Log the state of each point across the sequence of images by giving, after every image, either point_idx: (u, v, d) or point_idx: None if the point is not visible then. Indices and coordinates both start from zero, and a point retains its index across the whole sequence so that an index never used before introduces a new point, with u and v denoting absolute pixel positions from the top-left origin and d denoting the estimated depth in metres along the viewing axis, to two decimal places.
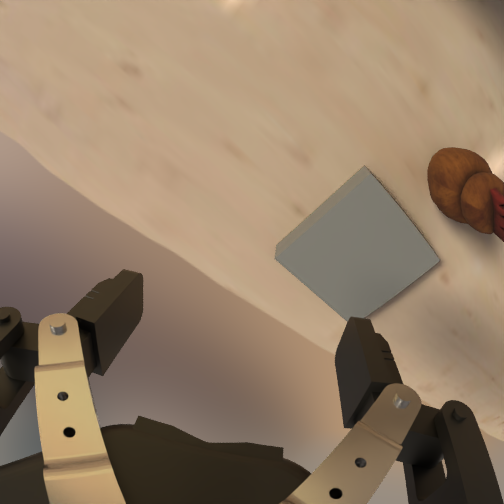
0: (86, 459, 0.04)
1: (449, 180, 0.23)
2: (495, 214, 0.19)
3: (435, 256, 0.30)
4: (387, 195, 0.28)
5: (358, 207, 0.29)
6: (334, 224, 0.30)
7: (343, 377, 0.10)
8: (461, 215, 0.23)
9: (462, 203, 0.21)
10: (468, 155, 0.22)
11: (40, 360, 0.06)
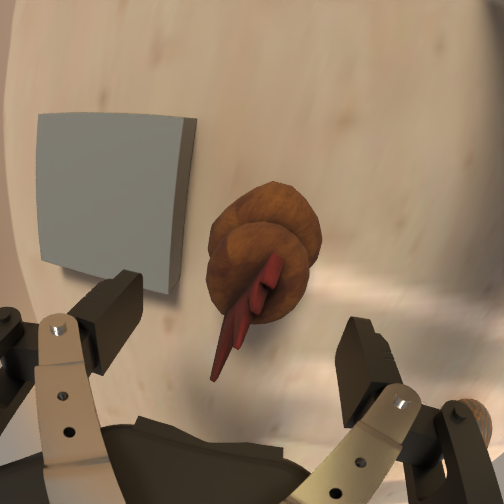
0: (86, 459, 0.04)
1: (247, 205, 0.17)
2: (246, 292, 0.13)
3: (166, 284, 0.23)
4: (175, 159, 0.20)
5: (138, 139, 0.19)
6: (103, 132, 0.19)
7: (343, 377, 0.10)
8: None
9: (224, 237, 0.15)
10: (304, 208, 0.17)
11: (40, 359, 0.06)
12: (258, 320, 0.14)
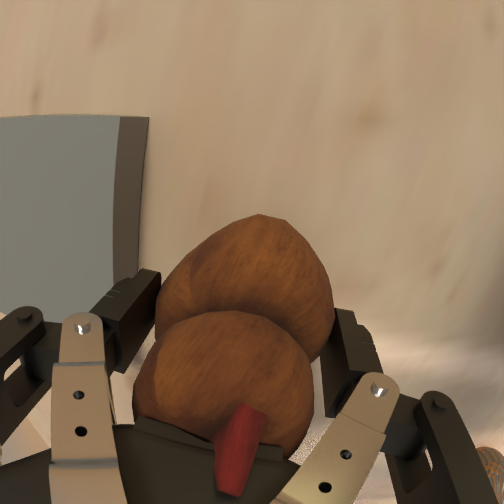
0: (86, 459, 0.04)
1: (209, 268, 0.10)
2: None
3: None
4: (110, 180, 0.13)
5: (62, 151, 0.12)
6: (23, 143, 0.12)
7: (326, 367, 0.11)
8: None
9: (161, 338, 0.08)
10: (308, 271, 0.10)
11: (60, 357, 0.06)
12: None
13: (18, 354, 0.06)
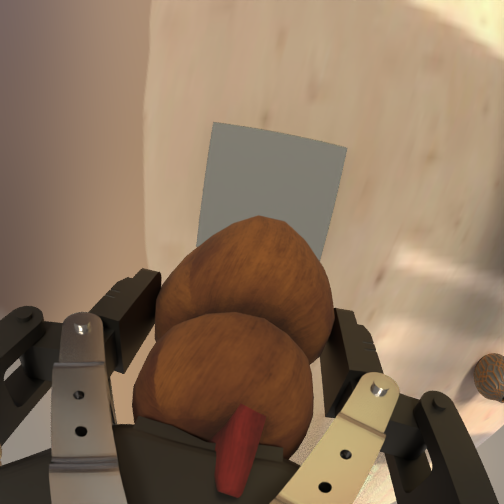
0: (86, 459, 0.04)
1: (209, 269, 0.10)
2: None
3: None
4: (339, 175, 0.29)
5: (312, 157, 0.29)
6: (282, 148, 0.29)
7: (326, 367, 0.11)
8: None
9: (161, 339, 0.08)
10: (308, 273, 0.10)
11: (60, 357, 0.06)
12: None
13: (18, 354, 0.06)
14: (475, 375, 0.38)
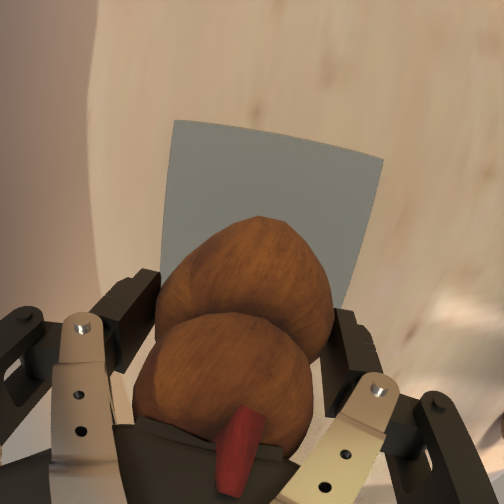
0: (86, 459, 0.04)
1: (209, 269, 0.10)
2: None
3: None
4: (370, 201, 0.19)
5: (330, 174, 0.18)
6: (283, 159, 0.18)
7: (326, 367, 0.11)
8: None
9: (161, 339, 0.08)
10: (307, 273, 0.10)
11: (60, 357, 0.06)
12: None
13: (18, 354, 0.06)
14: (503, 425, 0.28)
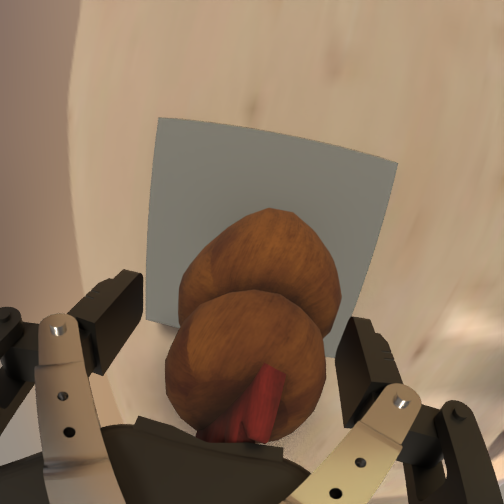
0: (86, 459, 0.04)
1: (228, 255, 0.11)
2: (224, 416, 0.08)
3: (336, 347, 0.20)
4: (382, 211, 0.16)
5: (336, 179, 0.16)
6: (282, 162, 0.16)
7: (343, 377, 0.10)
8: None
9: (189, 316, 0.09)
10: (315, 256, 0.11)
11: (40, 360, 0.06)
12: None
13: (0, 354, 0.06)
14: None
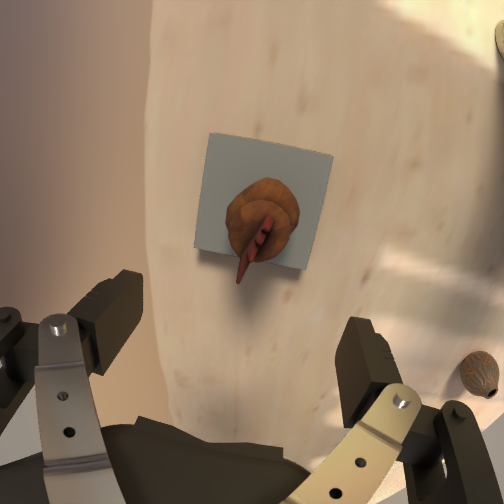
0: (86, 459, 0.04)
1: (251, 192, 0.27)
2: (253, 239, 0.23)
3: (306, 263, 0.36)
4: (326, 182, 0.32)
5: (301, 166, 0.32)
6: (273, 157, 0.32)
7: (343, 377, 0.10)
8: None
9: (238, 210, 0.25)
10: (286, 192, 0.27)
11: (40, 360, 0.06)
12: (261, 257, 0.24)
13: (0, 355, 0.06)
14: (461, 371, 0.41)
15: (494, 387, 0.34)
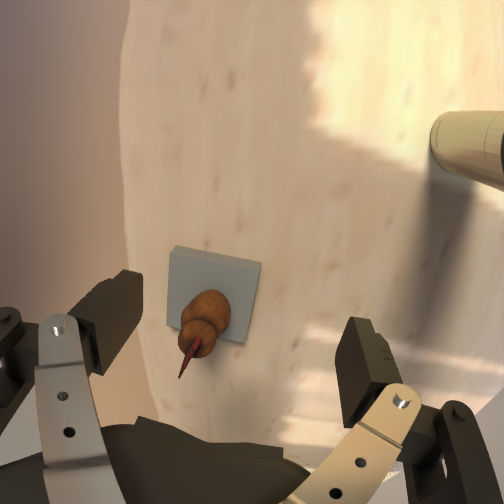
0: (86, 459, 0.04)
1: (193, 309, 0.40)
2: (190, 348, 0.37)
3: (244, 339, 0.49)
4: (254, 288, 0.45)
5: (235, 277, 0.45)
6: (215, 271, 0.45)
7: (343, 377, 0.10)
8: None
9: (183, 326, 0.38)
10: (217, 310, 0.40)
11: (40, 359, 0.06)
12: (197, 357, 0.37)
13: (0, 354, 0.06)
14: None
15: None
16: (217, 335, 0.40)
